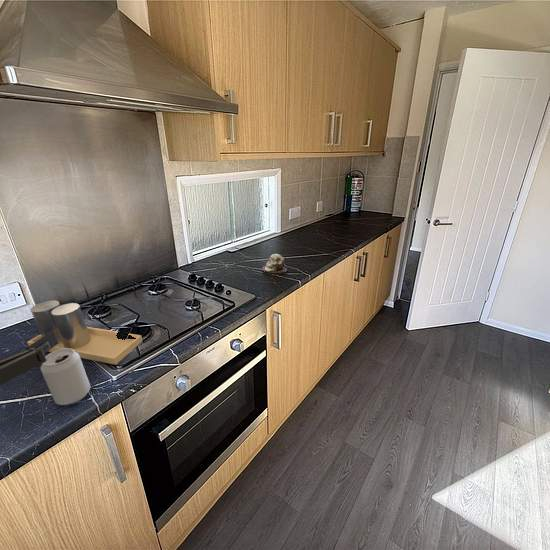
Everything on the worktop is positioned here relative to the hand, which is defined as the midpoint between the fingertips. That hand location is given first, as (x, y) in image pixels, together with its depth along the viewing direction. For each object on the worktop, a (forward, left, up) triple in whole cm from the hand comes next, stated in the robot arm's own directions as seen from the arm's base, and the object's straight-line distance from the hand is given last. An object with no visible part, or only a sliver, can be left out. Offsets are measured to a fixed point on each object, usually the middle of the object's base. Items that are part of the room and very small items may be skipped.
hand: (20, 342), depth 59 cm
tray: (-14, +22, -19) cm, 33 cm away
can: (0, +5, -20) cm, 20 cm away
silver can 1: (-25, +22, -19) cm, 39 cm away
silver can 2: (-17, +22, -19) cm, 34 cm away
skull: (+26, +93, -20) cm, 99 cm away
